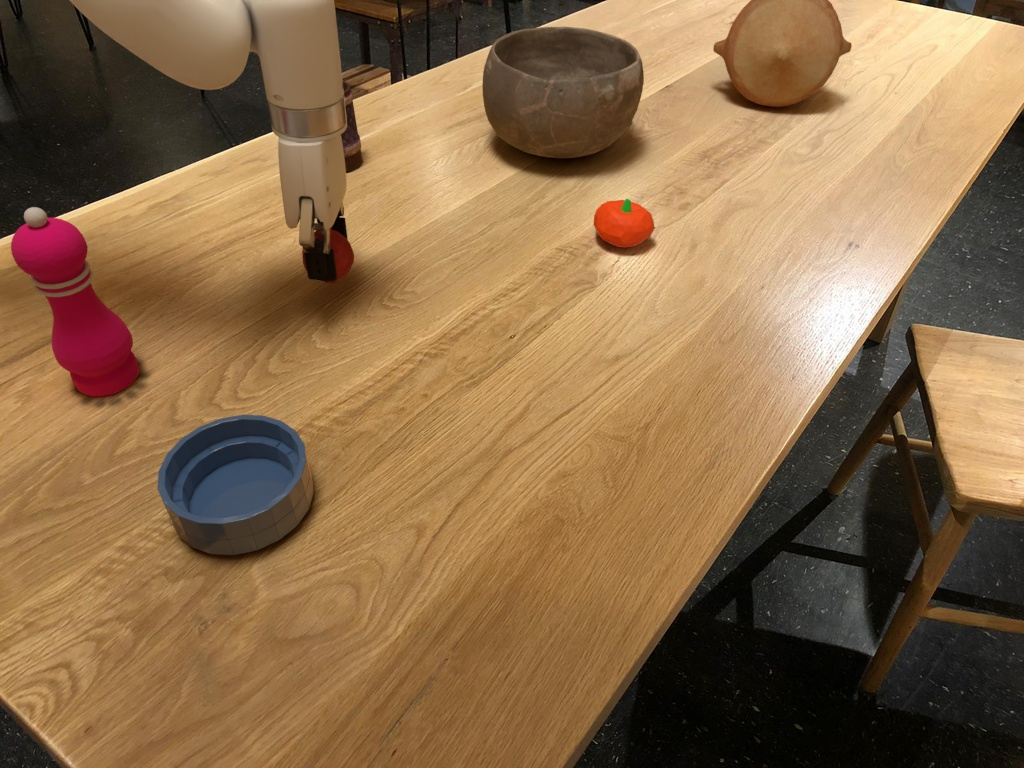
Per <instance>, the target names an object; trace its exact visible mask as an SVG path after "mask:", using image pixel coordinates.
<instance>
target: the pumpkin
mask: <svg viewBox="0 0 1024 768" xmlns="http://www.w3.org/2000/svg"><path fill="white" fill-rule="evenodd" d="M593 227H594V229H595V230H596V232H597V234H598V236H599V238H601V239H602V240H603V241H605V242H606V243H608V244H611V245H612V246H615V247H616V248H626V249H627V248H632V247H635V246H638V245H641V244H642V243H643V242H644V241H645V240H647V239H648V238H650V237H651V236H652V235H653V233H654V231H655V229H656V227H655V221H654V218H653V215H652V213H651V212H650V211H649V210H647V208H645V207H644V206H642V205H641V204H639V203H636V202H634V201H632V200H630V199H629V198H625V199H618V200H607V201H605V202H603V203H602V204H600V205H599V207H597V209H596V211H595V213H594V216H593Z"/></svg>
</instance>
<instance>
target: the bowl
mask: <svg viewBox="0 0 1024 768" xmlns="http://www.w3.org/2000/svg"><path fill="white" fill-rule="evenodd" d="M644 76H645V74H644V66H643V60H642V57H641V55H640V53H639V51H638V49H637V48H636V47H635V45H633V44H632V43H630V42H629V41H628V40H626V39H624V38H622V37H619V36H616V35H613V34H611V33H607V32H602V31H599V30H595V29H590V28H584V27H582V28H581V27H573V26H542V27H540V26H539V27H531V28H525V29H520V30H519V29H518V30H514V31H511V32H509V33H506V34H504V35H502V36H501V37H499V38H497V39H496V40H494V42H493V43H492V46H491V47H490V49H489V52H488V54H487V58H486V60H485V63H484V67H483V72H482V83H481V85H482V87H481V88H482V99H483V100H482V101H483V107H484V111H485V115H486V118H487V120H488V123H489V124H490V126H491V128H492V130H493V131H494V132H495V133H496V135H497V136H498V137H499V138H501V139H502V140H503V141H504V142H505V143H506V144H508V145H510V146H512V147H514V148H516V149H518V150H519V151H522V152H523V153H527V154H529V155H533V156H539V157H545V158H551V159H553V158H555V159H574V158H580V157H586V156H591V155H593V154H596V153H599V152H600V151H603V150H605V149H607V148H608V147H610V146H611V145H612V144H614V143H615V142H616V141H617V140H618V139H619V138H620V137H621V136H622V135H623V134H624V133H625V132H626V131H627V130H628V128H630V127H631V126H632V125H633V121H634V120H633V119H635V116H636V113H637V112H638V109H639V104H640V102H641V100H642V99H641V98H642V95H643V89H644V88H643V87H644V84H645V83H644V82H645V77H644Z"/></svg>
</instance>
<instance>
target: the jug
mask: <svg viewBox="0 0 1024 768" xmlns="http://www.w3.org/2000/svg"><path fill="white" fill-rule="evenodd" d="M842 28H843V27H842V23H841V21H840V19H839V15H838V12H837V11H836V9H835V8H834V6H833V4H832V2H831V1H829V0H749V2H748V3H746V4H745V5H744V7H742V9H741V10H740V12H739V13H738V14H737V15H736V17H735V19H734V21H733V22H732V24H731V26H730V28H729V30H728V34H727V36H726V37H725V38H724V39H722V40H719V41H715V43H714V44H713V49H712V50H713V52H714V53H715V54H717V55H718V56H720V57H721V58H722V60H723V61H724V65H725V68H726V71H727V74H728V76H729V79H730V80H731V82H732V84H733V86H734V87H735V89H736V91H738V93H740V94H741V95H742V96H743V97H744V98H745V99H746V100H748V101H750V102H752V103H755V104H757V105H761V106H765V107H766V106H767V107H774V108H775V107H776V108H781V107H787V106H793V105H796V104H799V103H800V102H802V101H804V100H807V98H809V97H812V96H813V95H814V94H815V93H817V92H818V91H819V90H820V89H821V88H822V87H824V85H826V83H827V82H828V80H829V79H830V78H831V76H832V75H833V73H834V71H835V69H836V67H837V65H838V63H839V60H840V58H841V57H842V56H844V55H845V54H848V53H850V52H851V50H852V47H853V46H852V42H850V41H848V40H846V38H844V37H845V36H844V35H843V29H842Z"/></svg>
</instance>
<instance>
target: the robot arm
mask: <svg viewBox="0 0 1024 768" xmlns="http://www.w3.org/2000/svg"><path fill="white" fill-rule="evenodd" d="M69 2H70V3H71V4H72V5H73V6H74V7H75V8H76V9H77V10H78V11H79V12H80V13H81V14H82V15H83V16H84V17H85V18H86V19H87V20H88V21H90V22H91V23H92V25H94V26H95V27H97V29H99V30H101V31H102V33H104V34H105V35H107V36H108V37H109V38H110V39H112V40H113V41H115V42H116V43H118V44H119V45H120V46H122V47H124V48H125V49H126V50H128V51H129V52H130V53H132V55H135V56H136V57H138V58H139V59H140V60H142V61H144V62H145V63H146V64H148V65H150V67H153V68H154V69H155V70H157V71H159V72H160V73H162V74H163V75H165V76H167V77H169V78H171V79H172V80H174V81H176V82H178V83H180V84H182V85H184V86H187V87H190V88H194V89H197V90H198V89H199V90H205V91H212V90H221V89H222V88H225V87H228V86H230V85H231V84H233V83H235V81H237V80H238V78H239V77H240V76H241V75H242V74H243V72H244V70H245V68H246V66H247V62H248V59H249V55H250V53H255V54H256V55H257V56H258V58H259V63H260V68H261V74H262V79H263V84H264V90H265V91H264V92H265V96H266V102H267V109H268V113H269V119H270V127H271V130H272V133H273V134H274V135H275V136H276V137H278V140H277V143H278V144H277V149H278V150H277V151H278V152H277V153H278V154H277V155H278V170H279V180H280V188H281V196H282V197H281V198H282V205H283V213H284V220H285V224H286V226H287V227H288V229H297V227H298V225H299V233H298V244H299V246H301V247H302V250H303V252H304V257H305V263H306V269H307V271H306V272H307V273H306V275H307V278H308V279H309V280H310V281H319V280H322V281H335V280H336V278H337V272H336V265H335V257H334V250H333V249H330V230H329V229H330V228H331V229H332V230H335V231H337V232H339V233H340V234H342V235H343V236H344V237H345V238H346V239H347V240H348V241H349V239H348V230H347V222H346V217H344V216H345V206H344V202H343V201H344V199H345V196H346V192H347V187H348V185H347V172H346V167H345V159H344V151H343V145H342V138H341V134H342V133H343V132H344V131H345V130H346V128H347V117H346V108H345V98H344V89H343V81H344V79H343V72H342V62H341V54H340V53H341V52H340V42H339V33H338V22H337V15H336V14H337V13H336V5H335V0H69ZM315 220H316V221H315ZM315 231H322V240H323V241H321V240H320V239H319V238H316V237H315V236H314V232H315ZM306 269H305V270H306ZM322 281H321V282H322Z"/></svg>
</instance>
